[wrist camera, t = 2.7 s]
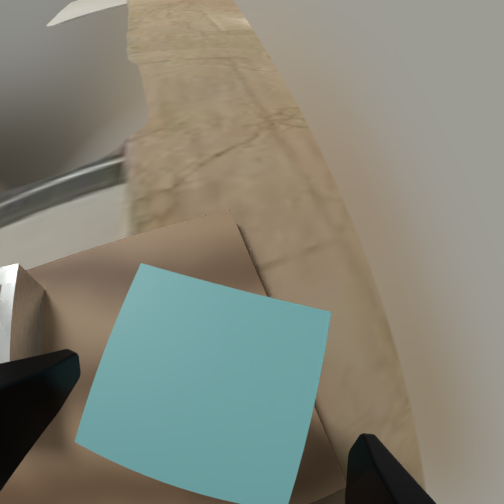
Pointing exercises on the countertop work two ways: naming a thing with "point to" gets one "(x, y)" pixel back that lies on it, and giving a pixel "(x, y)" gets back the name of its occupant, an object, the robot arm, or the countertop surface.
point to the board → (92, 348)
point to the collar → (20, 314)
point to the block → (207, 387)
